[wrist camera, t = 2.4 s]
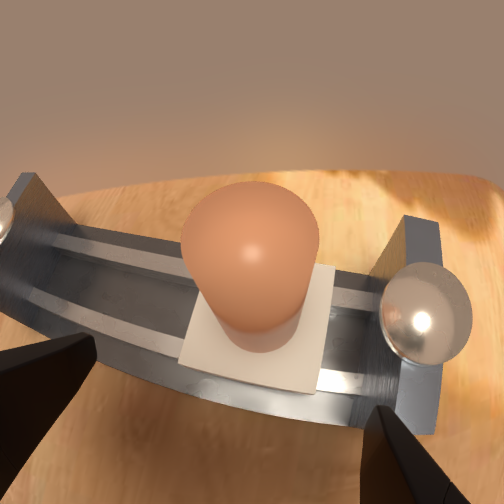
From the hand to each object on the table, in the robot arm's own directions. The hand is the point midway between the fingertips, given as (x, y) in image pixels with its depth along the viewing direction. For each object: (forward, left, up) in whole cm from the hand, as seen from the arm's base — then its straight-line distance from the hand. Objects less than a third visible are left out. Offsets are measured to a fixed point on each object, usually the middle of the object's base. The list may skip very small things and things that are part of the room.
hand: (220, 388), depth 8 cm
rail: (+1, +7, -11) cm, 13 cm away
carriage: (+4, +2, -8) cm, 9 cm away
